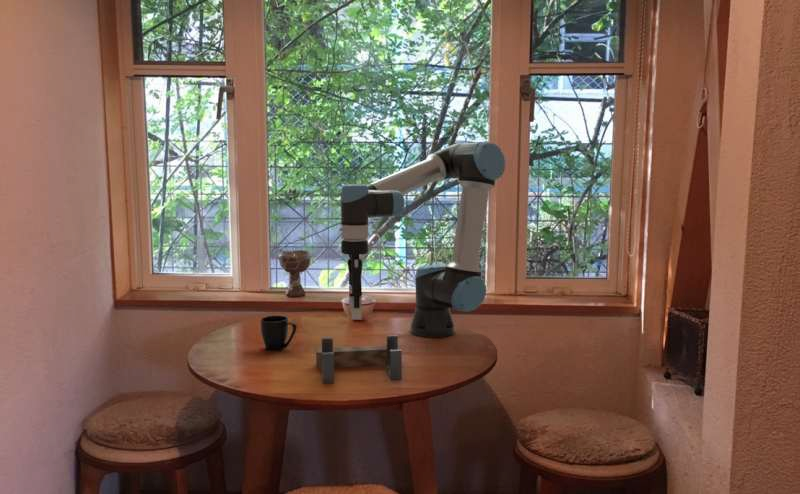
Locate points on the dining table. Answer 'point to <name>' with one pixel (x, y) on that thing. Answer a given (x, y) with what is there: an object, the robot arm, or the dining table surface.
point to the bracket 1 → (327, 360)
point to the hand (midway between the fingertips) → (355, 313)
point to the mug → (276, 332)
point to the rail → (356, 356)
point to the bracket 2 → (394, 358)
